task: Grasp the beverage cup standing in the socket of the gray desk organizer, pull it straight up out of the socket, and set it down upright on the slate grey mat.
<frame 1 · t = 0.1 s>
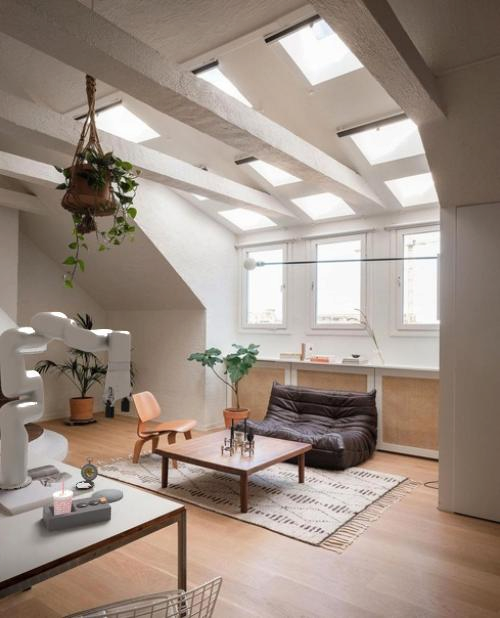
hand: (117, 414, 169), 31 cm above the table, tool pointing down, fingers open, 9 cm apart
beverage cup: (62, 522, 154), resting in gray desk organizer
gray desk organizer: (76, 518, 156), on the table
slate mat: (107, 496, 174), on the table
pocket watch: (86, 485, 184), on the table
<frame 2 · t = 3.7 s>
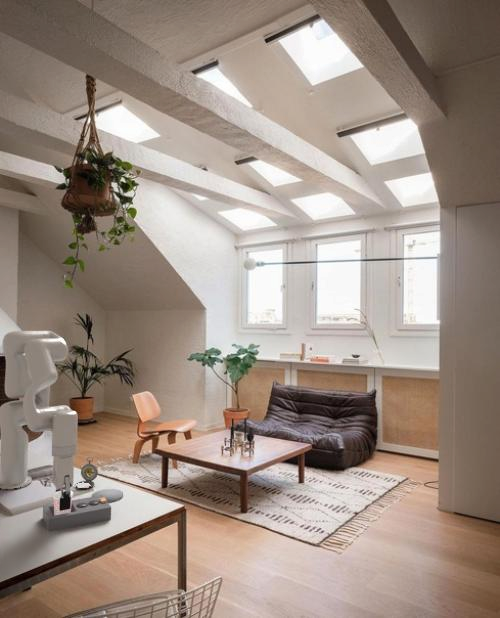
hand: (62, 504, 154), 5 cm above the table, tool pointing down, fingers closed on beverage cup, 6 cm apart
beverage cup: (62, 522, 154), resting in gray desk organizer, touching gripper
everything else where it was.
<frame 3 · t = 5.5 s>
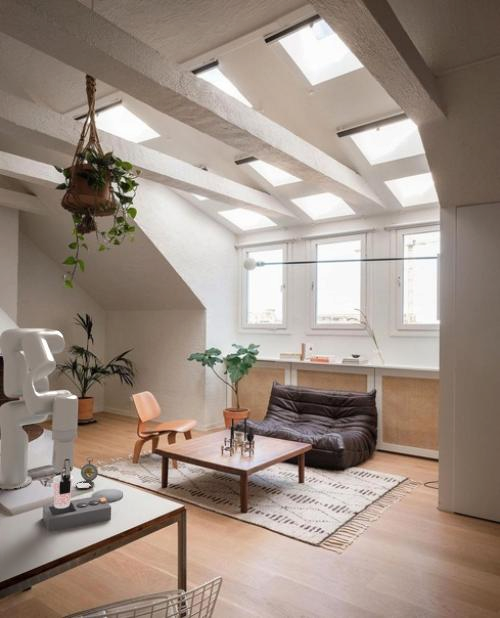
hand: (62, 488, 154), 10 cm above the table, tool pointing down, fingers closed on beverage cup, 6 cm apart
beverage cup: (62, 505, 154), point 5 cm above the table, touching gripper
everything else where it was.
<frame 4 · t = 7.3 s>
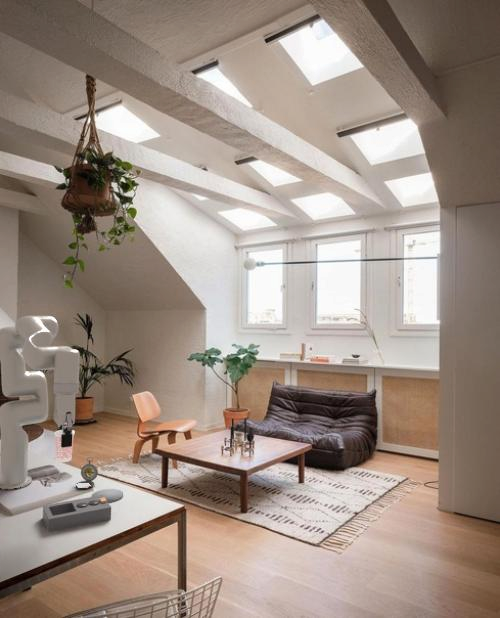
hand: (64, 443, 154), 25 cm above the table, tool pointing down, fingers closed on beverage cup, 6 cm apart
beverage cup: (63, 460, 154), point 20 cm above the table, touching gripper
everything else where it was.
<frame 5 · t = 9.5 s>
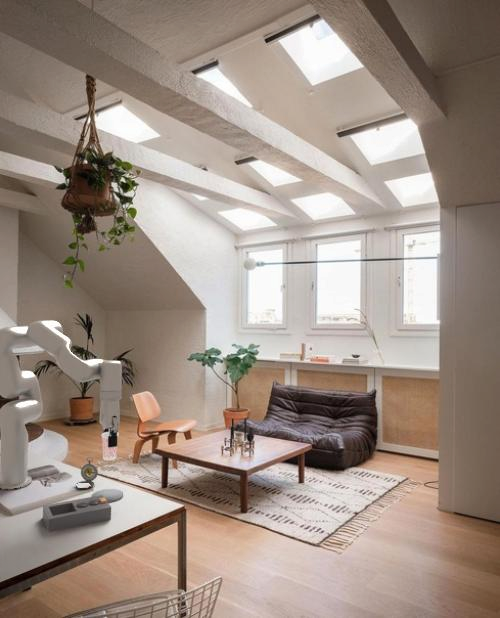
hand: (109, 443, 174), 19 cm above the table, tool pointing down, fingers closed on beverage cup, 6 cm apart
beverage cup: (109, 459, 174), point 14 cm above the table, touching gripper
everything else where it was.
when the fingers open (7 cm above the table, at t = 11.2 s): beverage cup drops 1 cm, resting on slate mat.
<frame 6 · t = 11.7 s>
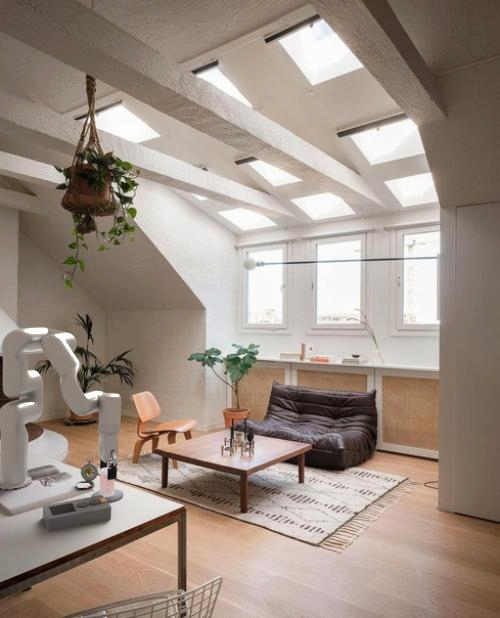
hand: (108, 474, 174), 8 cm above the table, tool pointing down, fingers open, 9 cm apart
beverage cup: (107, 495, 174), resting on slate mat
everything else where it was.
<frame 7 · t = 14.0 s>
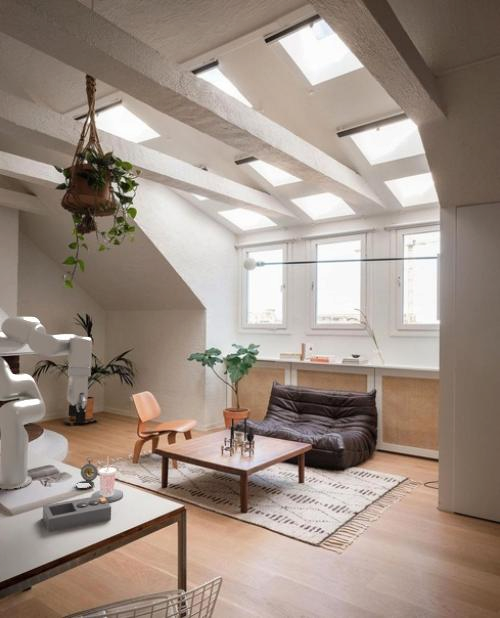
hand: (76, 419, 171), 29 cm above the table, tool pointing down, fingers open, 9 cm apart
nothing on the table moved.
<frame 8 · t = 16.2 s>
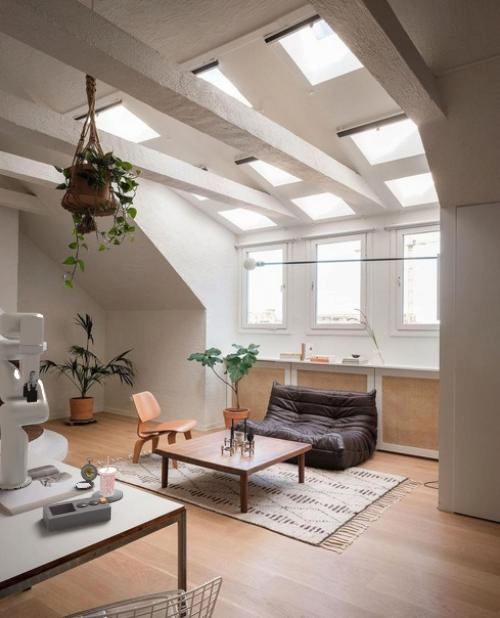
hand: (29, 399, 165), 36 cm above the table, tool pointing down, fingers open, 9 cm apart
nothing on the table moved.
at the end: beverage cup 0.2 cm off-centre on the slate mat, point 0.4 cm above the slate mat's base; beverage cup tilted 0°; beverage cup touching slate mat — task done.
